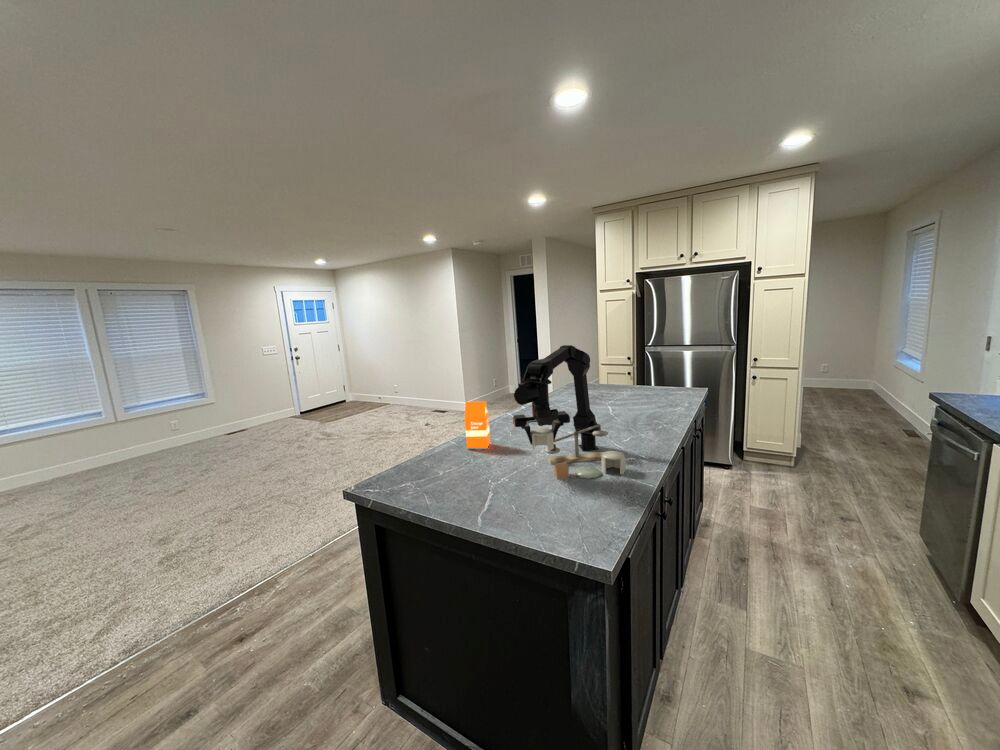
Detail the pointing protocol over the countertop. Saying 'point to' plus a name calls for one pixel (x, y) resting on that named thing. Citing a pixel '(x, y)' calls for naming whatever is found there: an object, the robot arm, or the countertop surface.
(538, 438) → the cover
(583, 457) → the balance
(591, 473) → the dish
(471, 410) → the orange juice
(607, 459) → the cover
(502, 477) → the countertop surface
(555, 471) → the block
